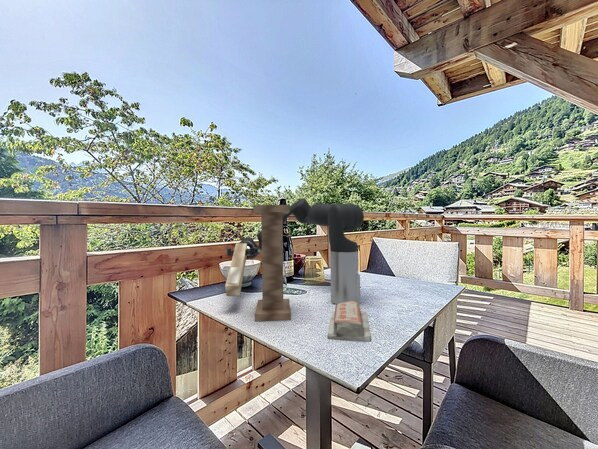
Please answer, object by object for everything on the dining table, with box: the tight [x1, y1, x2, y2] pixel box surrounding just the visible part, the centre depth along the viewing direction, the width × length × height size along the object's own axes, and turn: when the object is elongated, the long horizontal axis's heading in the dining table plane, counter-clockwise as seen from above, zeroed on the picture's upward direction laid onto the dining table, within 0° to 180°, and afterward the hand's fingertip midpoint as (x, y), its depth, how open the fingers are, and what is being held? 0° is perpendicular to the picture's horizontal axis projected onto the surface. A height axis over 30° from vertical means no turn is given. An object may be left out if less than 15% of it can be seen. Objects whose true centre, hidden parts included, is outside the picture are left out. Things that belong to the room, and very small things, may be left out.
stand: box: [252, 204, 292, 322], centre depth 80 cm, size 10×14×32 cm
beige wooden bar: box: [224, 242, 247, 297], centre depth 90 cm, size 4×24×4 cm, turn 5°
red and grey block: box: [326, 301, 372, 343], centre depth 69 cm, size 18×5×10 cm
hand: (239, 252), depth 96 cm, fingers closed on beige wooden bar, 4 cm apart
